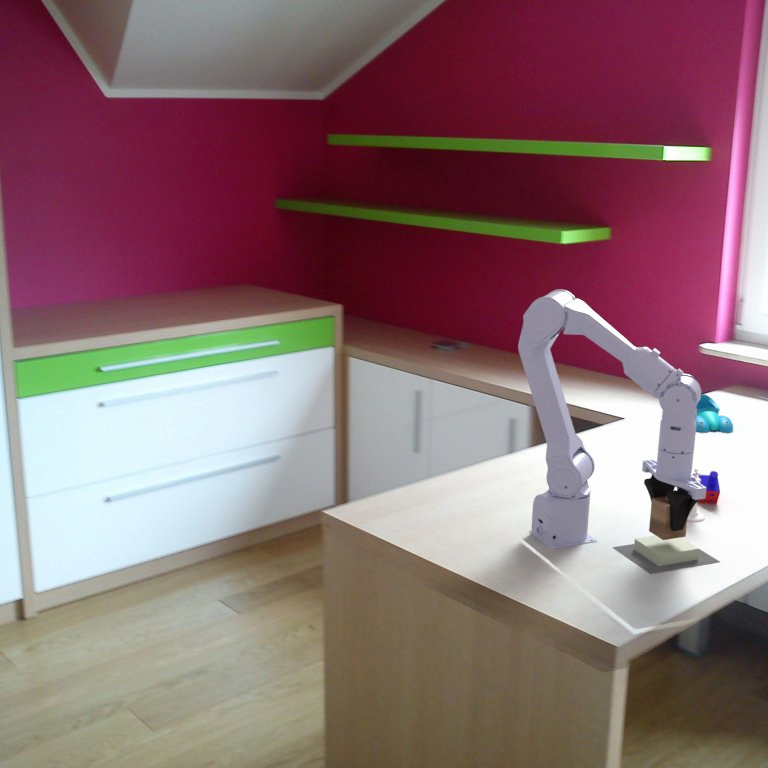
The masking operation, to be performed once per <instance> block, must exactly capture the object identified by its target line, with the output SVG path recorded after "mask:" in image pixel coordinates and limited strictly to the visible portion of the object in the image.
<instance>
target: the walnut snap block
mask: <svg viewBox="0 0 768 768" xmlns="http://www.w3.org/2000/svg"><path fill="white" fill-rule="evenodd" d="M649 514H650V516H649V527H648V532H650V533H651V534H653V536H657V537H659V538H661V539H662V540H668V539H674V538H680V537H681V538H685V537H686V535H687V528H688V527H687V525H688V521H686V523H685V526H684V528H683V530H679V531H672V530H671V526H670V505H669V500H668V497H667V496H665V497H658V498H652V503H651V507H650V513H649Z"/></svg>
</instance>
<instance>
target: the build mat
mask: <svg viewBox="0 0 768 768" xmlns="http://www.w3.org/2000/svg"><path fill="white" fill-rule="evenodd" d="M612 548H613V549H614V550H615V551H617V552H618V553H619V554H622V555H623V556H624V557H625V558H627V559H629V560H630V561H631V562H632V563H634V564H635V565H637V566H638V567H640V568H642V570H643V571H645V572H647V573H648V574H649V575H654V574H658V573H659V574H660V573H666V572H671V571H676V570H681V569H683V570H684V569H689V568H694V567H699V566H700V567H701V566H704V565H706V566H707V565H712V564H717V563H721V561H720V560H718V559H716V558H715V557H714V556H712V555H710V554H709V553H707V552H705V550H702V549H700V548H699V556H698V560H692V561H686V562H681V563H675V564H669V565H663V566H657V565H656V564H654V563H653V562H652V561H650V560H649V559H647V558H646V557H644V556H643V555H641V554H640V553H638V552H637V551H635V550H634V543H633V544H625V545H618V546H613V547H612Z"/></svg>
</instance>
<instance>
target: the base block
mask: <svg viewBox="0 0 768 768" xmlns="http://www.w3.org/2000/svg"><path fill="white" fill-rule="evenodd" d="M633 544H634V550H635V551H637V552H638V553H640V554H641V555H643V556H644V557H646V558H647V559H649V560H650V561H652V562H653V563H654V564H656V565H657V566H663V565H669V564H675V563H681V562H686V561H692V560H698V556H699V549H700V548H699V547H698V546H696V545H694V544H693V543H690V542H689V540H686V539H684V537H680V538H674V539H668V540H662V539H661V538H659V537H657V536H656V535H651V536H644V537H638V538H634V543H633Z"/></svg>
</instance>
